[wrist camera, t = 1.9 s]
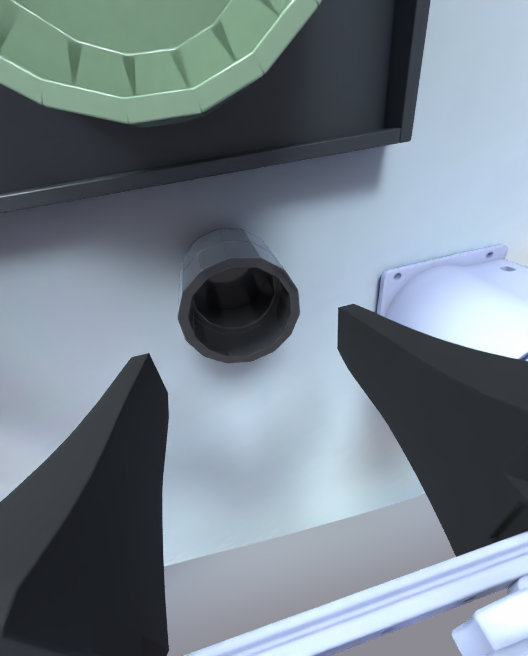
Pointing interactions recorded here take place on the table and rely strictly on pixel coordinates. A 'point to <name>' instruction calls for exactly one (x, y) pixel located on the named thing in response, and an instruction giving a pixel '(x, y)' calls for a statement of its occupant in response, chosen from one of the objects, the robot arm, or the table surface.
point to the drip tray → (234, 114)
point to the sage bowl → (143, 54)
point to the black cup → (235, 297)
